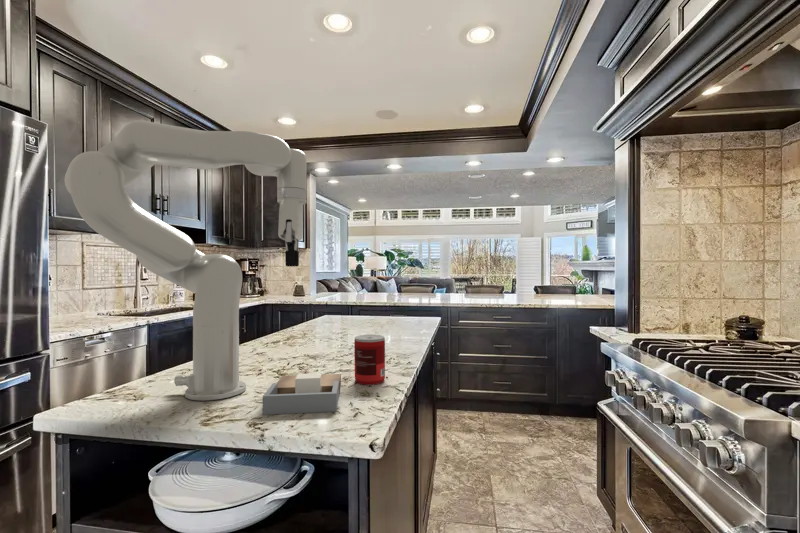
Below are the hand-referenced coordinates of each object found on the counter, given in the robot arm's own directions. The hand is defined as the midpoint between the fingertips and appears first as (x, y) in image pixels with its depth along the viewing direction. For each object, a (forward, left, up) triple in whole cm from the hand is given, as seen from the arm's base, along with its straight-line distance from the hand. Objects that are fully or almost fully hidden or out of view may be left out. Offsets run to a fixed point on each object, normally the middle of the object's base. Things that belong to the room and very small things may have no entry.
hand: (292, 266), depth 103 cm
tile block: (+7, -20, -26) cm, 33 cm away
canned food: (+20, -7, -29) cm, 36 cm away
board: (+6, -14, -29) cm, 33 cm away
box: (+6, -23, -29) cm, 38 cm away
